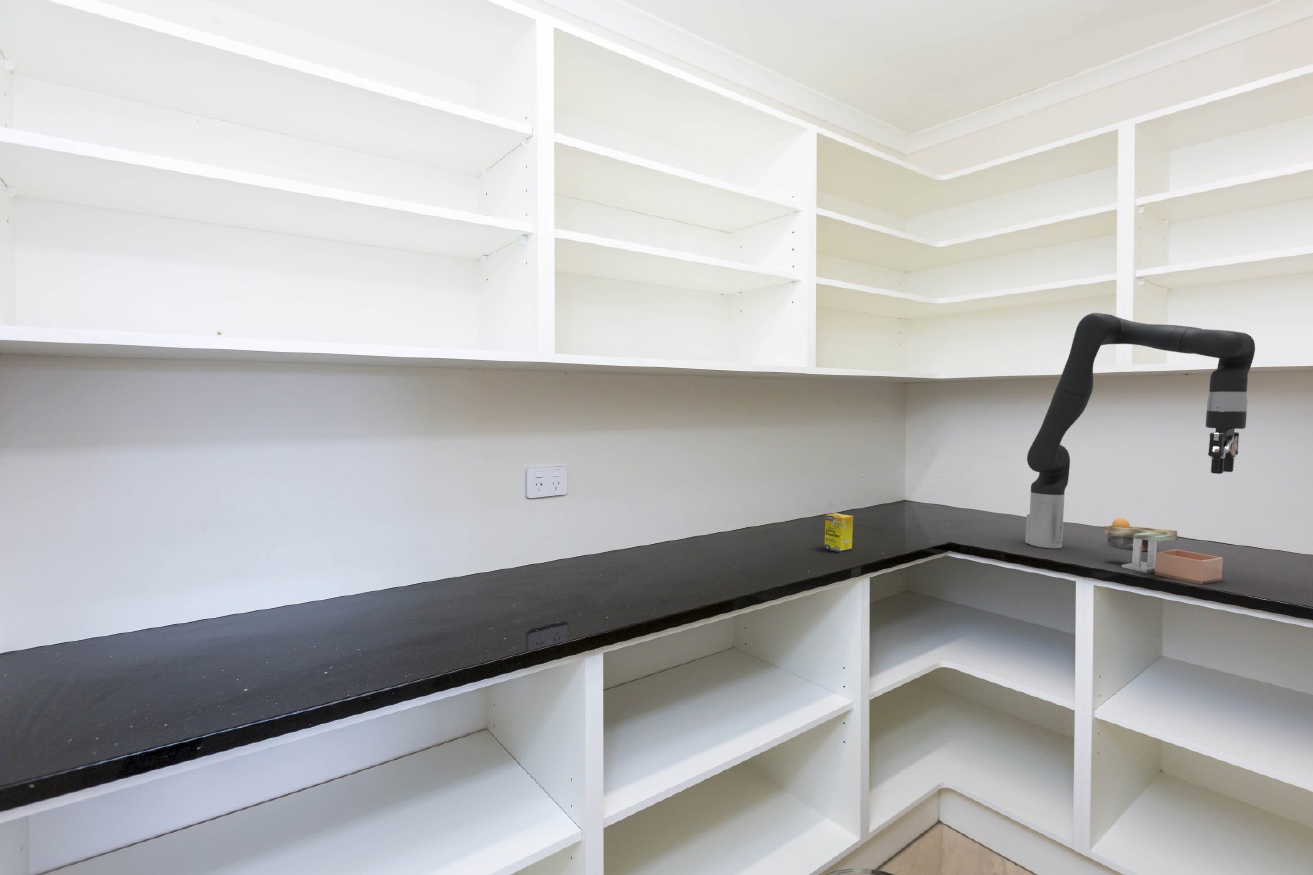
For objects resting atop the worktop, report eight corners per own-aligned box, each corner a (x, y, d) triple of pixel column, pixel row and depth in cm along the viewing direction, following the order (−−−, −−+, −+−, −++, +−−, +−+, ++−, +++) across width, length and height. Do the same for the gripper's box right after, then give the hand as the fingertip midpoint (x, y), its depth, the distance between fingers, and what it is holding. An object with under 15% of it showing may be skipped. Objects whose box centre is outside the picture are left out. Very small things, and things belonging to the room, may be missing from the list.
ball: (1109, 532, 174) (1108, 518, 175) (1117, 531, 176) (1116, 517, 176) (1125, 533, 171) (1124, 519, 171) (1133, 532, 172) (1131, 518, 173)
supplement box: (824, 549, 186) (824, 514, 185) (836, 547, 189) (837, 512, 189) (840, 553, 181) (841, 517, 180) (852, 551, 184) (853, 515, 184)
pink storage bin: (1154, 574, 162) (1155, 552, 162) (1174, 570, 166) (1175, 549, 166) (1202, 584, 153) (1203, 561, 152) (1221, 580, 157) (1222, 557, 157)
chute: (1090, 544, 171) (1090, 528, 171) (1116, 541, 177) (1116, 524, 177) (1160, 553, 156) (1160, 535, 156) (1186, 549, 162) (1186, 531, 162)
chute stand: (1121, 567, 169) (1123, 531, 168) (1141, 563, 173) (1143, 528, 173) (1146, 573, 163) (1148, 535, 163) (1166, 569, 168) (1168, 532, 168)
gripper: (1215, 409, 161) (1211, 469, 162) (1198, 409, 153) (1193, 472, 154) (1254, 410, 155) (1249, 472, 156) (1238, 409, 147) (1233, 475, 148)
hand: (1222, 472), depth 155 cm, fingers open, 8 cm apart
